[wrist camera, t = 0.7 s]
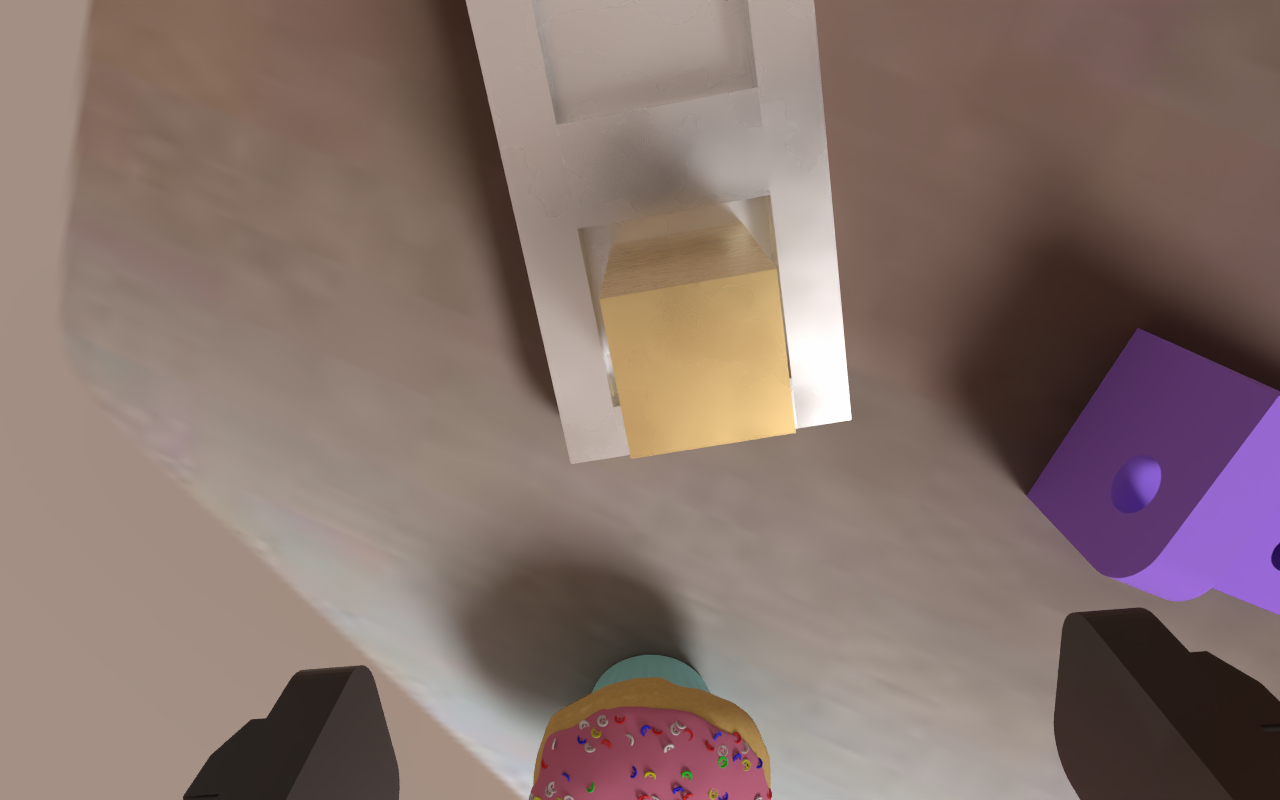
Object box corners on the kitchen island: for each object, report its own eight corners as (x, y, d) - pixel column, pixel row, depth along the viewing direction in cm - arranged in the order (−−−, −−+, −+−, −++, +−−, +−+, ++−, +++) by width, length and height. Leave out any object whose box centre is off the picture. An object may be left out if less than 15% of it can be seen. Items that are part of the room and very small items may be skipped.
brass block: (741, 221, 25) (776, 269, 18) (757, 346, 26) (795, 432, 19) (611, 244, 25) (599, 299, 18) (634, 367, 26) (630, 458, 20)
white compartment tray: (732, -641, 19) (746, -753, 16) (832, 390, 28) (851, 419, 26) (353, -548, 20) (310, -642, 17) (571, 432, 29) (564, 465, 26)
